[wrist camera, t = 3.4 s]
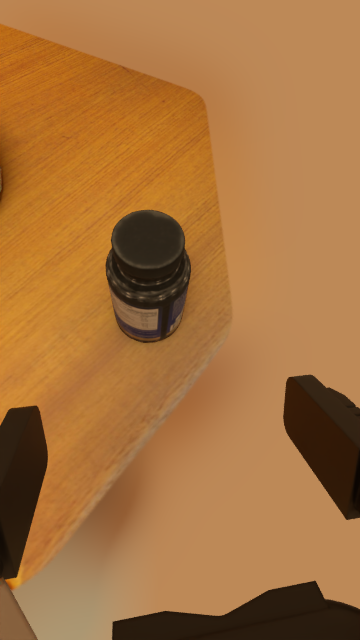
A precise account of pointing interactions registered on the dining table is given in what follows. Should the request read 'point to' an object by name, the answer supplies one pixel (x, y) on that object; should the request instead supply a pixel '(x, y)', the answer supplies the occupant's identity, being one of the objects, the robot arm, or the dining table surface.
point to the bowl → (0, 180)
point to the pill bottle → (148, 275)
